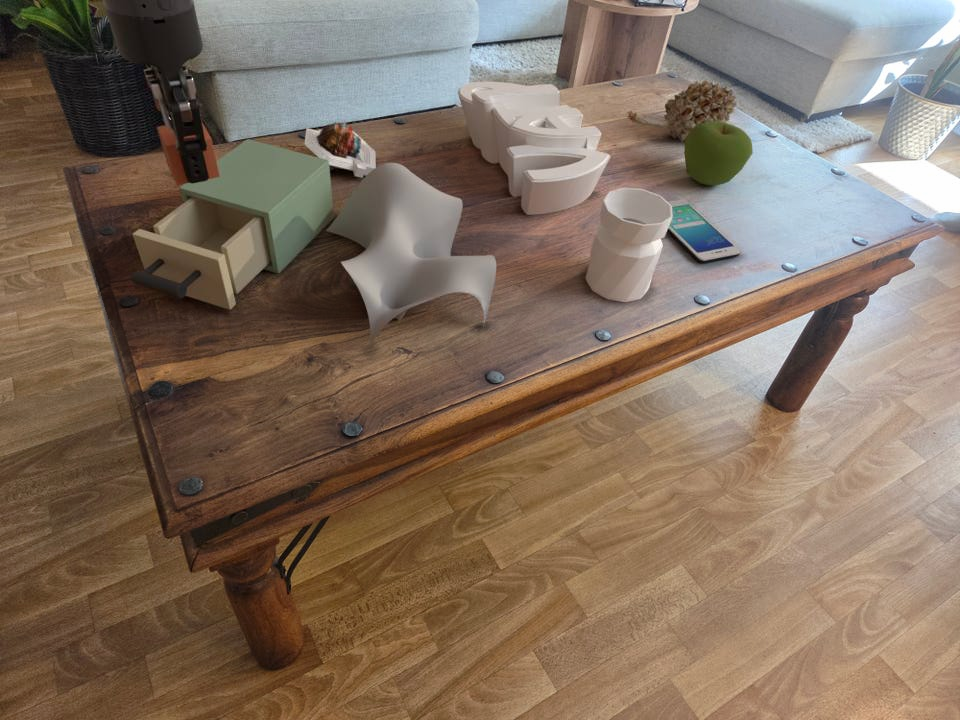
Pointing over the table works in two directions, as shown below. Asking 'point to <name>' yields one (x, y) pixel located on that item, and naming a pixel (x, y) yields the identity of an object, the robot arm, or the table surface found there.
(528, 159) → the wavy white extrusion
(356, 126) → the table surface
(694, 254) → the smartphone
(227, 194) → the cabinet
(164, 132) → the block
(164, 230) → the drawer
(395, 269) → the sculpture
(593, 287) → the vase
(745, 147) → the apple
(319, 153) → the mineral specimen
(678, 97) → the dried hydrangea flower
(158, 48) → the robot arm
